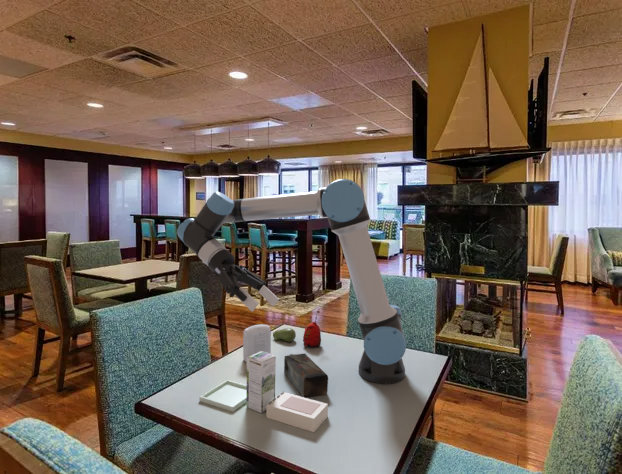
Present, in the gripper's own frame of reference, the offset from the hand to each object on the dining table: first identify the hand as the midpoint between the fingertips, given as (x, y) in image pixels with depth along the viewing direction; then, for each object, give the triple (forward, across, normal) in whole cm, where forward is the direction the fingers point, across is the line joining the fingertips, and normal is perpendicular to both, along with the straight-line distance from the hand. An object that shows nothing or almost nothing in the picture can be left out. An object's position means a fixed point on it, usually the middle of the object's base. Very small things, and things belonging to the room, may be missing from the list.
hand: (266, 305), depth 111 cm
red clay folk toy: (+11, -47, -17) cm, 51 cm away
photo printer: (+2, -28, -28) cm, 39 cm away
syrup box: (+17, +2, -22) cm, 28 cm away
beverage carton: (+21, -16, -16) cm, 31 cm away
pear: (+1, -48, -25) cm, 54 cm away
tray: (+8, 0, -28) cm, 29 cm away
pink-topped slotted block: (+26, +3, -15) cm, 31 cm away
